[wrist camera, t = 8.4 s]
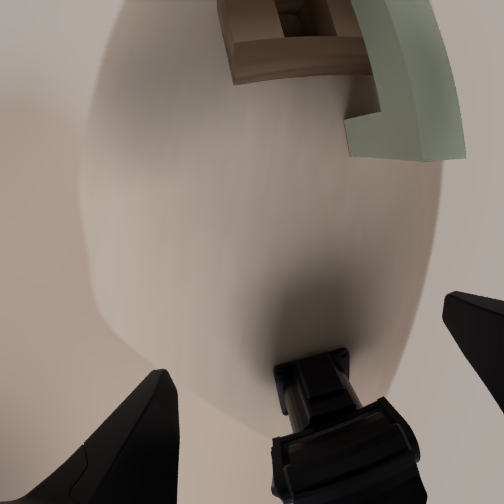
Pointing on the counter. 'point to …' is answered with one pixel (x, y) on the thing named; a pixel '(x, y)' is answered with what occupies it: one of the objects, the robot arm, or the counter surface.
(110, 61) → the counter surface
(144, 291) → the counter surface
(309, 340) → the counter surface
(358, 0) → the green block
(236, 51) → the brown cubby organizer
